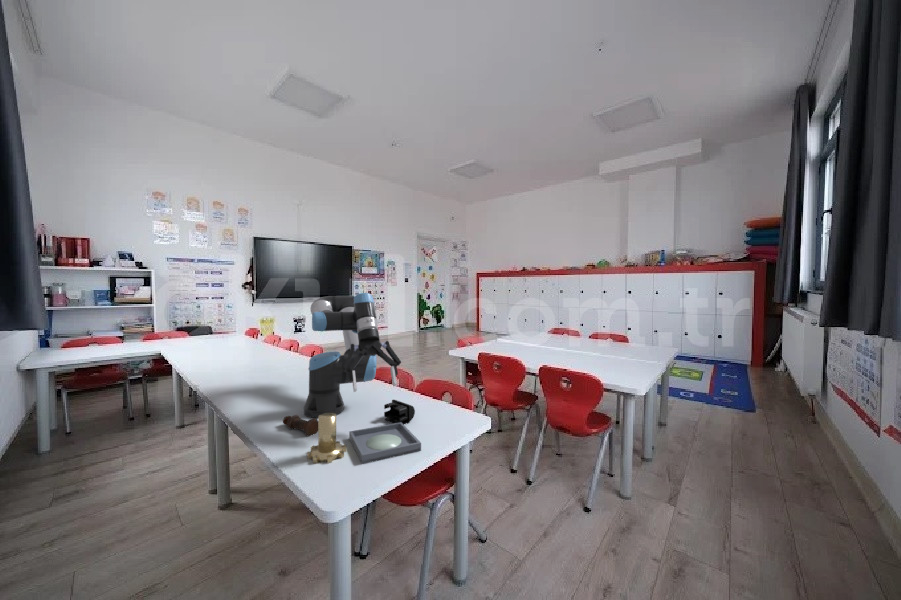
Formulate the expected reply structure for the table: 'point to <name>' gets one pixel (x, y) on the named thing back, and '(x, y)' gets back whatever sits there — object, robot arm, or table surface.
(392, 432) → the carrier tray
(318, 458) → the toothed flange peg
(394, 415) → the end cap
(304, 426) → the bolt
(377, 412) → the table surface
